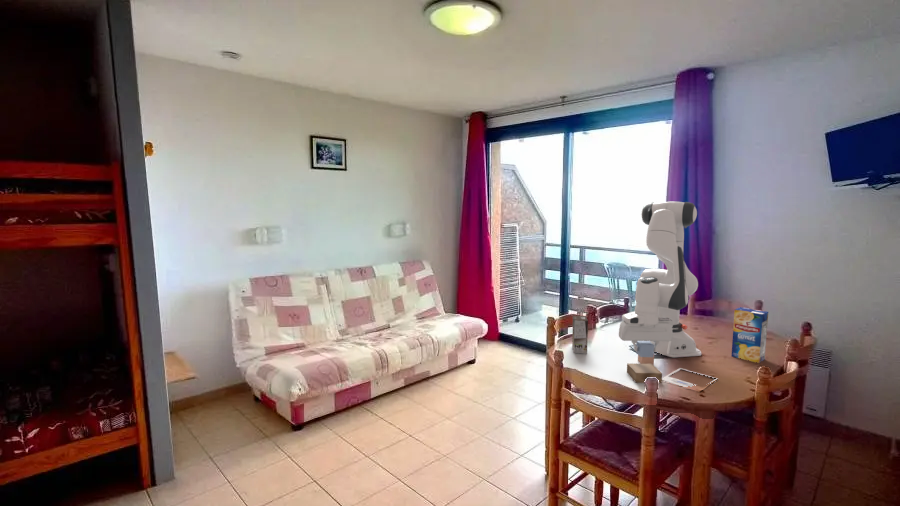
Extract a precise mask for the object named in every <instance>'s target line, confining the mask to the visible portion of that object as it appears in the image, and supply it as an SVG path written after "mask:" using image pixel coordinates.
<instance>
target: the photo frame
mask: <svg viewBox="0 0 900 506" xmlns="http://www.w3.org/2000/svg"><path fill="white" fill-rule="evenodd" d="M680 370H682V371H686V372H689V373H692V372H693V373H692V374H696V373H697V374H696V375H699V374H700V376H703V375H705V376H704V377H707V376H708V377H707V378H710V377H712V378H711V379H713V380H712V381H710V382H709V383H710V384H711V382H713V381H715V380H717V379H718V380H719V378H717V377H713V376H710V375H708V374H703V373H699V372H696V371H691V370H689V369H686V368H682V367H679V368H677V369H675V370H673V371H672V372H670V373H668V374H667V375H665V376H664V377H663V376H662V382H663V381H665V382H664V383H666V382H669V383H668V384H670V383H672V384H671V385H673V384H676V385H679V386H683V387H688V386H690V387H692V386H694V385H695V386H696V385H697V384H695V383H692V382H688V381H685V380H681V379H678V378H676V377H672V376H673V375H674V373H675V374H676V373H678V372H680ZM672 374H673V375H672ZM714 378H716V379H714ZM718 380H717V381H718ZM715 382H716V381H715ZM709 383H707V384H709ZM693 384H694V385H693ZM676 385H675V386H676ZM711 385H712V384H711ZM679 386H678V387H679ZM683 387H682V388H683Z"/></svg>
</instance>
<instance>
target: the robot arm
mask: <svg viewBox="0 0 900 506" xmlns="http://www.w3.org/2000/svg"><path fill="white" fill-rule="evenodd" d="M640 215H641V220H642V222H643V223H644V224H645V225H647V226H648V228H647V232H646V233H647V234H646V241H645V242H646V247H647V249H649V251H650V252H651V253H652V254H655V255H656V257H657V258H658V260H659V261H661V262H662V263H663V264H664V265H665V267H666V269H663V268H646V269H644V270H643V271H642V272H641V274H640V277H639V278H638V280H637V283H636V288H635V296H634V298H635V306H634V311H630V312H628V313H624V314H622V316H621V319H622V321H621V322H620V324H619V329H618V337H619V338H620V340H622V341H624V342H631V343H632V345H633V350H634V351H635V352H636V351H639V347H638V346H637V345H636V343H637V341H650V342H651V343H652V344H653V345H654V352H658V353H660V354H659V355H661V354H662V356H667V357H669V358H684V357H687V358H688V357H698V356H699V357H700V356H702V351H701V349H699V348H697V345H696V341H695V339H694V338H693V337H691V336H690V335H689V334H688V333H686V332H685V331H686V330H687V329H688V325H686V324H685V323H684V324H683V323H681V322H680V310H682V309H684V308H686V307H687V306H688V302H689V296H692V295H694V294H695V292H696V291H698V287H699V281H698V278H697V277H696V276H695V275H694V274H693V273H692V272H691V270H690V269H689V268H688V266H687V264H686V262H685V255H684V245H685V244H684V243H685V242H684V241H685V229H687V228H688V227H689V226H691V225H693V224H694V223H695V221H696V219H697V215H698V211H697V208H696V205H695V204H694V202H689V201H685V202H682V201H675V200H674V201H672V200H671V201H661V202H653V201H652V202H648V203H645V205H644V206H643V208H642V210H641V214H640ZM684 330H685V331H684Z"/></svg>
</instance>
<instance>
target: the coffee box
mask: <svg viewBox="0 0 900 506" xmlns="http://www.w3.org/2000/svg"><path fill="white" fill-rule="evenodd" d="M588 329H589V320H588V317H587V316H586V315H572V339H571V340H572V346H571V347H572V351H573V354H585V355H586V354H588V339H589V338H588V336H589V330H588Z"/></svg>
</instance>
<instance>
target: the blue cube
mask: <svg viewBox="0 0 900 506" xmlns="http://www.w3.org/2000/svg"><path fill="white" fill-rule="evenodd" d="M635 344H636V345H637V346H638V347H639V351H635V353H636V354H637V356H638V355H639V356H640V357H654V358H655V353H654V345H653V344H652V343H651V342H650V341H637V343H635Z"/></svg>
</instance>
